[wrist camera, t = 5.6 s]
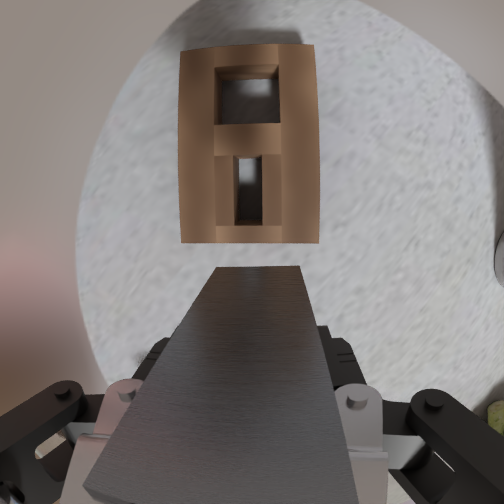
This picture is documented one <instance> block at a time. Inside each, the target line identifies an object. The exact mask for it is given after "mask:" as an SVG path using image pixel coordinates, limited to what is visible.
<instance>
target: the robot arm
mask: <svg viewBox="0 0 504 504" xmlns="http://www.w3.org/2000/svg"><path fill="white" fill-rule="evenodd" d="M495 273H496V277H497V280H498V282H499V283H500V285H502V286H503V287H504V232H503V234H502V236H501V238H500V240H499V243H498V246H497V250H496V254H495ZM177 328H178V326H177ZM177 328H176V329H177ZM317 328H318V332H319V336H320V339H321V343H322V347H323V350H324V354H325V358H326V362H327V365H328V369H329V373H330V377H331V381H332V385H333V389H334V393H335V397H336V401H337V405H338V409H339V413H340V417H341V422H342V426H343V430H344V435H345V439H346V443H347V448H348V452H349V457H350V461H351V466H352V471H353V476H354V481H355V485H356V490H357V496H358V501H359V504H386V502H387V488H388V471H389V473H390V474H391V475H392V476H393V477H394V479H395V480H396V481H397V482H398V483H399V484H400V486H401V487H402V488H403V489H404V490H405V492H406V493H407V494H408V495H409V496H410V497H411V499H412V500H413V501H414V502H415V503H416V504H504V436H502V435H501V434H500V433H498V432H497V431H496V430H495V429H493V428H492V427H491V426H489V425H488V424H487V423H486V422H484V421H483V420H482V419H480V418H479V417H478V416H477V415H475V414H474V413H473V412H471V411H470V410H469V409H467V408H466V407H465V406H464V405H462V404H461V403H460V402H458V401H457V400H456V399H455V398H453V397H452V396H451V395H449V394H448V393H446V392H444V391H441V390H438V389H425V390H421V391H419V392H417V393H416V394H415V395H414V396H413V397H412V399H411V402H410V403H404V402H391V401H386V400H383V399H382V397H381V395H380V393H379V392H378V391H377V390H376V389H374V388H373V387H371V386H368V385H367V384H366V381H365V379H364V376H363V374H362V372H361V369H360V367H359V364H358V362H357V360H356V357H355V355H354V352H353V350H352V348H351V345H350V344H349V343H348V342H346V341H345V340H344V339H343V338H331V335H330V332H329V329H328V326H327V325H326V326H317ZM176 329H175V331H176ZM175 331H174V332H175ZM174 332H173V334H174ZM173 334H172V336H173ZM172 336H171V337H172ZM171 337H170V338H166V337H165V338H163V339H162V340H160V341H159V342H157V343H155V345H154V346H153V347H152V349H151V350H150V353H148V355H147V356H146V358H145V359H144V360H143V362H142V363H141V365H140V366H139V368H138V369H137V371H136V372H135V374H134V375H133V377H132V378H131V379H123V380H120V381H117V382H115V383H113V384H112V385H110V386H109V387H108V389H107V390H106V393H105V394H96V395H85V394H84V392H83V389H82V387H81V385H80V384H79V383H77V382H75V381H68V380H67V381H60V382H57V383H54V384H53V385H51V386H49V387H48V388H46V389H45V390H43V391H41V392H40V393H38V394H36V395H35V396H33V397H31V398H30V399H28V400H27V401H25V402H23V403H22V404H20V405H18V406H17V407H15V408H14V409H12V410H10V411H9V412H7V413H6V414H4V415H2V416H1V417H0V504H53V503H54V502H55V501H57V500H58V499H59V498H60V497H61V499H60V503H59V504H117V503H114V502H111V501H108V500H105V499H103V498H100V497H97V496H94V495H92V494H89V493H88V492H87V491H86V490H85V489H84V487H83V486H82V485H83V483H84V481H85V480H86V478H87V476H88V474H89V473H90V471H91V469H92V467H93V466H94V464H95V462H96V461H97V459H98V457H99V455H100V454H101V452H102V450H103V449H104V447H105V445H106V444H107V442H108V440H109V438H110V437H111V435H112V433H113V432H114V430H115V428H116V427H117V425H118V423H119V422H120V420H121V418H122V417H123V415H124V413H125V412H126V410H127V408H128V407H129V405H130V403H131V402H132V400H133V398H134V397H135V395H136V394H137V392H138V390H139V389H140V387H141V385H142V384H143V382H144V380H145V379H146V377H147V376H148V374H149V372H150V371H151V369H152V368H153V366H154V364H155V363H156V361H157V359H158V358H159V356H160V355H161V353H162V351H163V350H164V348H165V347H166V345H167V343H168V342H169V340H170V339H171ZM59 430H61V431H62V433H63V435H64V436H65V438H66V440H65V441H64V442H63V443H61V444H60V445H59V446H57V447H56V448H55V449H53V450H52V451H51V452H49V453H48V454H47V455H45V456H44V457H43V458H41V459H36V458H35V449H36V448H37V446H39V445H40V444H41V443H43V442H44V441H45V440H47V439H48V438H50V437H51V436H52V435H54V434H55V433H57V432H58V431H59ZM434 452H436V453H437V454H438V455H439V456H440V457H441V458H442V459H443V460H444V461H445V462H446V463H447V464H449V465H450V466H451V467H452V469H453V470H454V471H453V470H452V469H451V468H450V467H448V466H447V465H446V464H445V463H444V462H443V461H442V460H441V459H440V458H439V457H438V456H437V455H436V454H435V453H434Z"/></svg>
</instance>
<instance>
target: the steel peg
mask: <svg viewBox="0 0 504 504" xmlns="http://www.w3.org/2000/svg"><path fill="white" fill-rule="evenodd" d="M82 486H83V487H84V489H85V490H86V491H87V492H88V493H89V494H92V495H94V496H97V497H100V498H103V499H105V500H108V501H111V502H114V503H117V504H359V501H358V496H357V490H356V485H355V481H354V476H353V471H352V466H351V461H350V457H349V452H348V448H347V443H346V439H345V435H344V430H343V426H342V422H341V417H340V413H339V409H338V405H337V401H336V397H335V393H334V389H333V385H332V381H331V377H330V373H329V369H328V365H327V362H326V358H325V354H324V350H323V347H322V343H321V339H320V336H319V332H318V328H317V325H316V321H315V318H314V314H313V310H312V307H311V303H310V300H309V297H308V293H307V290H306V286H305V283H304V280H303V276H302V273H301V269H300V266H260V267H216V268H215V270H214V271H213V273H212V275H211V276H210V278H209V279H208V281H207V282H206V284H205V285H204V287H203V288H202V290H201V292H200V293H199V295H198V296H197V298H196V299H195V301H194V302H193V304H192V306H191V307H190V309H189V310H188V312H187V313H186V315H185V317H184V318H183V320H182V321H181V323H180V324H179V326H178V328H177V329H176V331H175V332H174V334H173V336H172V337H171V339H170V340H169V342H168V343H167V345H166V347H165V348H164V350H163V351H162V353H161V355H160V356H159V358H158V359H157V361H156V363H155V364H154V366H153V368H152V369H151V371H150V372H149V374H148V376H147V377H146V379H145V380H144V382H143V384H142V385H141V387H140V389H139V390H138V392H137V394H136V395H135V397H134V398H133V400H132V402H131V403H130V405H129V407H128V408H127V410H126V412H125V413H124V415H123V417H122V418H121V420H120V422H119V423H118V425H117V427H116V428H115V430H114V432H113V433H112V435H111V437H110V438H109V440H108V442H107V444H106V445H105V447H104V449H103V450H102V452H101V454H100V455H99V457H98V459H97V461H96V462H95V464H94V466H93V467H92V469H91V471H90V473H89V474H88V476H87V478H86V480H85V481H84V483H83V485H82Z"/></svg>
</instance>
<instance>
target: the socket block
mask: <svg viewBox="0 0 504 504" xmlns="http://www.w3.org/2000/svg"><path fill="white" fill-rule="evenodd" d="M248 79H278V83H279V115H280V123H252V124H227V125H222V81H230V80H248ZM249 158H262V208H263V220H240V204H239V159H249ZM178 178H179V208H180V228H181V243H319V219H320V150H319V117H318V95H317V79H316V64H315V52H314V45H306V44H249V45H232V46H220V47H211V48H202V49H194V50H187V51H181V53H180V72H179V100H178Z"/></svg>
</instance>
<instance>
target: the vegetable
mask: <svg viewBox="0 0 504 504" xmlns="http://www.w3.org/2000/svg"><path fill="white" fill-rule="evenodd" d="M487 414H488V425H489V426H491V427H492V428H493V429H495V430H496V431H497V432H498V433H500V434H501V435H502V436H504V400H502V401H496V402H493V403H492V404H490V405H489V407H488V413H487Z"/></svg>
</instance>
